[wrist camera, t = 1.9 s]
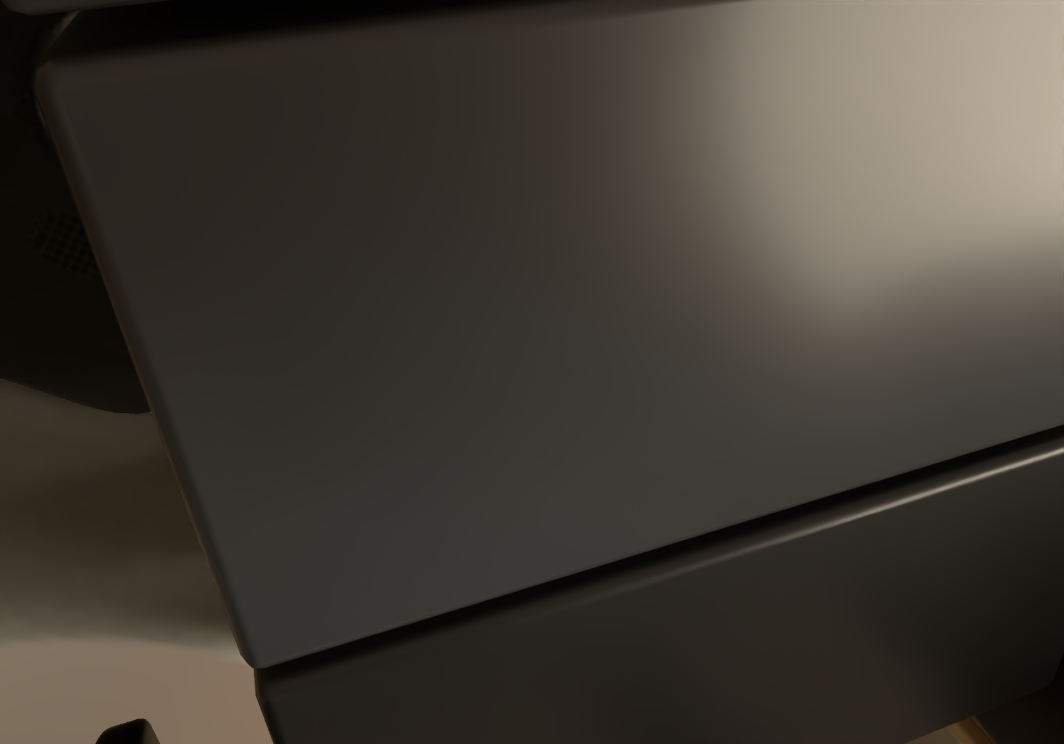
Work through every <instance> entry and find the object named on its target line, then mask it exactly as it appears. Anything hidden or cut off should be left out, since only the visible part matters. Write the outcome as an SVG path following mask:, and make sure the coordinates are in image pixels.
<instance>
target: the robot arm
mask: <svg viewBox="0 0 1064 744" xmlns="http://www.w3.org/2000/svg"><path fill="white" fill-rule="evenodd" d="M974 717H975V718H976V719H977V721H978V722H979V723H980V725H981V726H982V727H983V728H984V730H985V731H986V732H987V733H988V735H989V736H990V737H991V739H992V740H993V741H994V742H995V744H1064V654H1063V656H1062V659H1061V661H1060V664H1059V666H1058V669H1057V671H1056V673H1055V676H1054V678H1053V680H1052V682H1051V683H1050V685H1048V686H1046V687H1044V688H1042V689H1040V690H1037V691H1035V692H1032V693H1030V694H1027V695H1025V696H1022V697H1020V698H1017V699H1015V700H1012V701H1010V702H1007V703H1005V704H1002V705H1000V706H997V707H995V708H992V709H990V710H987V711H985V712H982V713H980V714H977V715H975V716H974ZM96 744H160V743H159V741H158V739H157V737H156V734H155V732H154V730H153V728H152V726H151V725H150V723H149V722H148V721H147V720H146V719H143V718H142V719H136V720H133V721H129V722H126V723H123V724H120V725H116V726H113V727H110V728H108V729H106V730H105V731H104V732H103V733H102V734H101V735H100V737H99V738H98V740H97V742H96Z"/></svg>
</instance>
